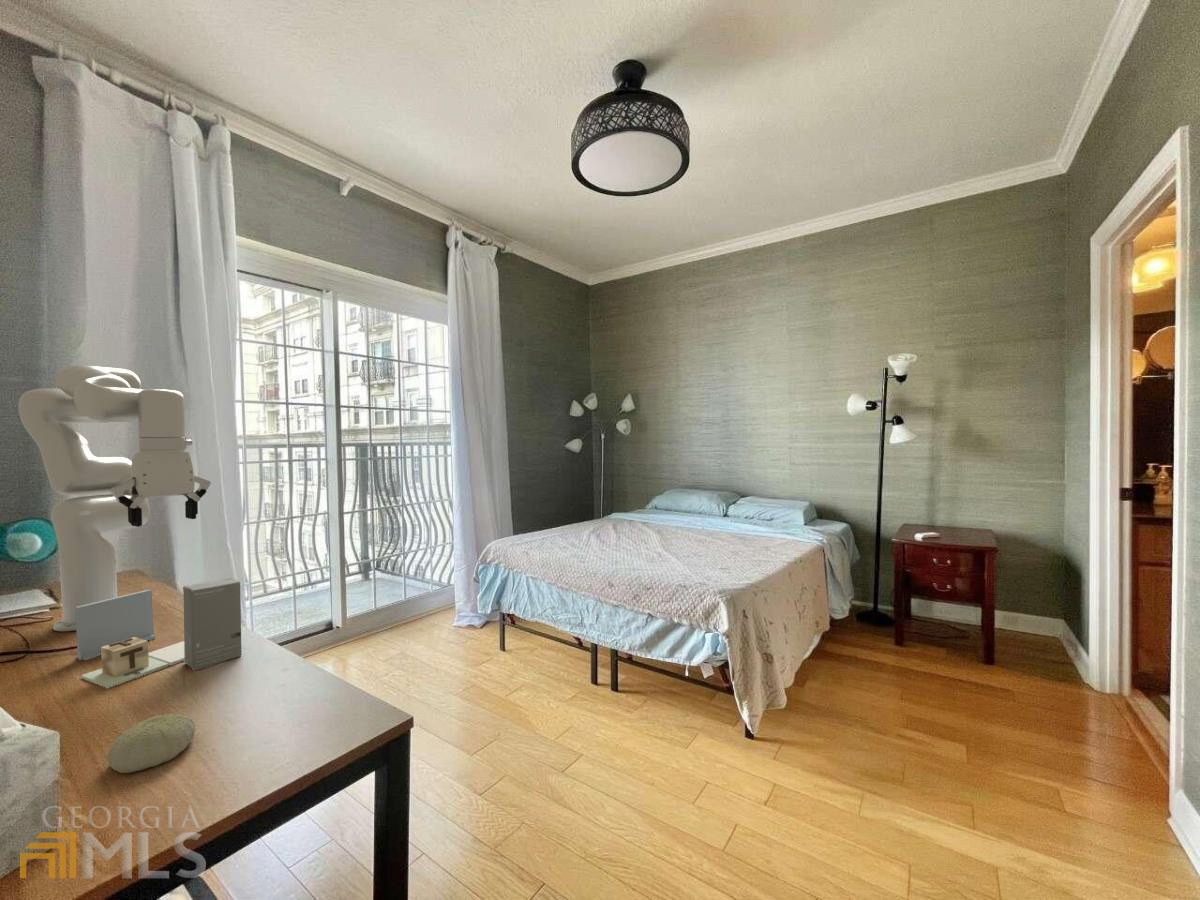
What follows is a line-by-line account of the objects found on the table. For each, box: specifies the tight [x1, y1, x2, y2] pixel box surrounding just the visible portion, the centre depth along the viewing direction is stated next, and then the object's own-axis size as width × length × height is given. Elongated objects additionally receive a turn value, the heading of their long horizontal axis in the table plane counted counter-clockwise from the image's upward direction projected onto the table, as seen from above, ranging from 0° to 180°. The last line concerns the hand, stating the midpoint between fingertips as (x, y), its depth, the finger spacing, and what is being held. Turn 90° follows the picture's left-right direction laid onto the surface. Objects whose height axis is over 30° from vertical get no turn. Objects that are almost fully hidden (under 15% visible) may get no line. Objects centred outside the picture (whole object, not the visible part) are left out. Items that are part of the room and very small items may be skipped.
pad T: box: [81, 657, 169, 690], centre depth 93 cm, size 10×9×1 cm
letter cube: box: [100, 637, 149, 678], centre depth 93 cm, size 5×5×5 cm
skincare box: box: [182, 577, 243, 671], centre depth 98 cm, size 8×7×16 cm
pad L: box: [148, 640, 185, 666], centre depth 101 cm, size 10×9×1 cm
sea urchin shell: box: [107, 713, 196, 774], centre depth 68 cm, size 9×8×8 cm
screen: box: [75, 589, 156, 661], centre depth 104 cm, size 4×12×11 cm, turn 156°
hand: (164, 521), depth 106 cm, fingers open, 9 cm apart
